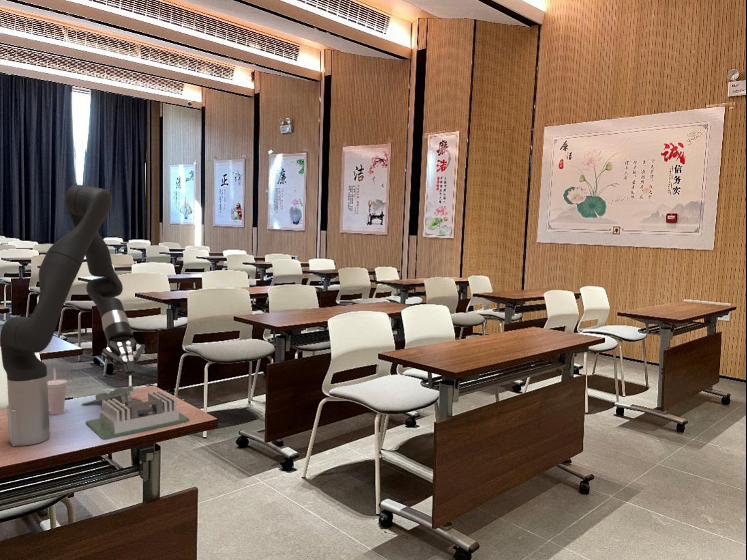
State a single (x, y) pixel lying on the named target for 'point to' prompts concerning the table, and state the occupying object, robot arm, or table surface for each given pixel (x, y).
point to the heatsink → (136, 416)
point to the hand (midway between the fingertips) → (131, 374)
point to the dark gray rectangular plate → (140, 409)
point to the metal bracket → (120, 391)
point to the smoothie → (56, 395)
